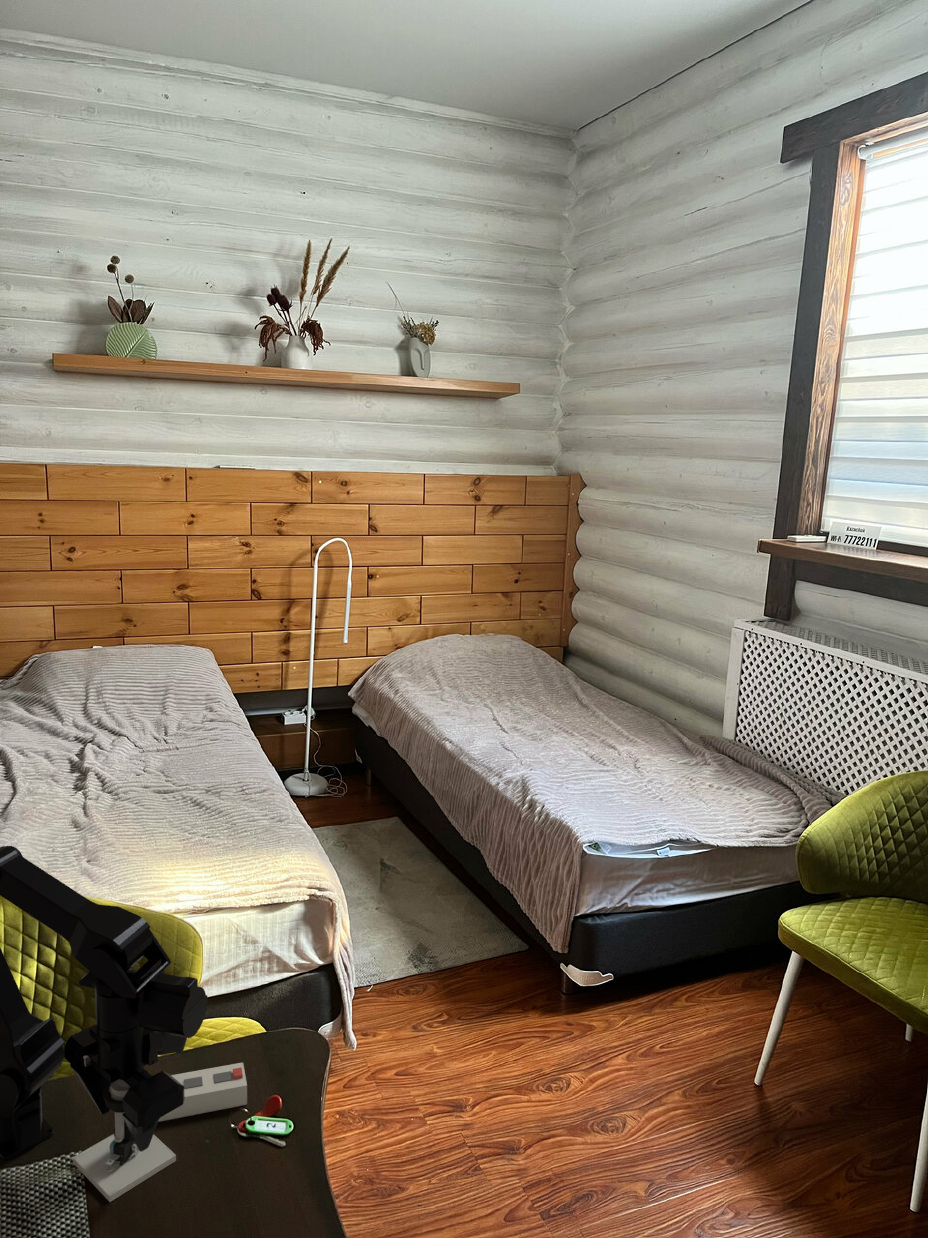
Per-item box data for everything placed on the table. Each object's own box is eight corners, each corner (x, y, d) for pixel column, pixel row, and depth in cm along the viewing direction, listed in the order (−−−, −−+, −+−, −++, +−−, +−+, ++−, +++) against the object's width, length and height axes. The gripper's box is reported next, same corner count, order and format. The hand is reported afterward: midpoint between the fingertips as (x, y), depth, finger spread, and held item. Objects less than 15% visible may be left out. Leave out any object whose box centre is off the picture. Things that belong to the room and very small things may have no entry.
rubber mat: (73, 1163, 116) (72, 1157, 116) (138, 1125, 123) (138, 1120, 122) (109, 1202, 110) (109, 1196, 110) (176, 1160, 117) (176, 1155, 117)
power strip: (140, 1125, 123) (139, 1102, 122) (139, 1100, 127) (139, 1078, 127) (247, 1104, 127) (247, 1082, 127) (243, 1081, 132) (243, 1059, 131)
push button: (126, 1180, 112) (124, 1108, 111) (89, 1169, 114) (86, 1098, 112) (158, 1142, 119) (156, 1073, 117) (122, 1132, 120) (120, 1064, 118)
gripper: (221, 1022, 113) (222, 1134, 116) (140, 963, 125) (142, 1066, 127) (138, 1065, 104) (141, 1184, 107) (60, 998, 116) (64, 1107, 119)
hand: (124, 1130), depth 115 cm, fingers open, 9 cm apart
